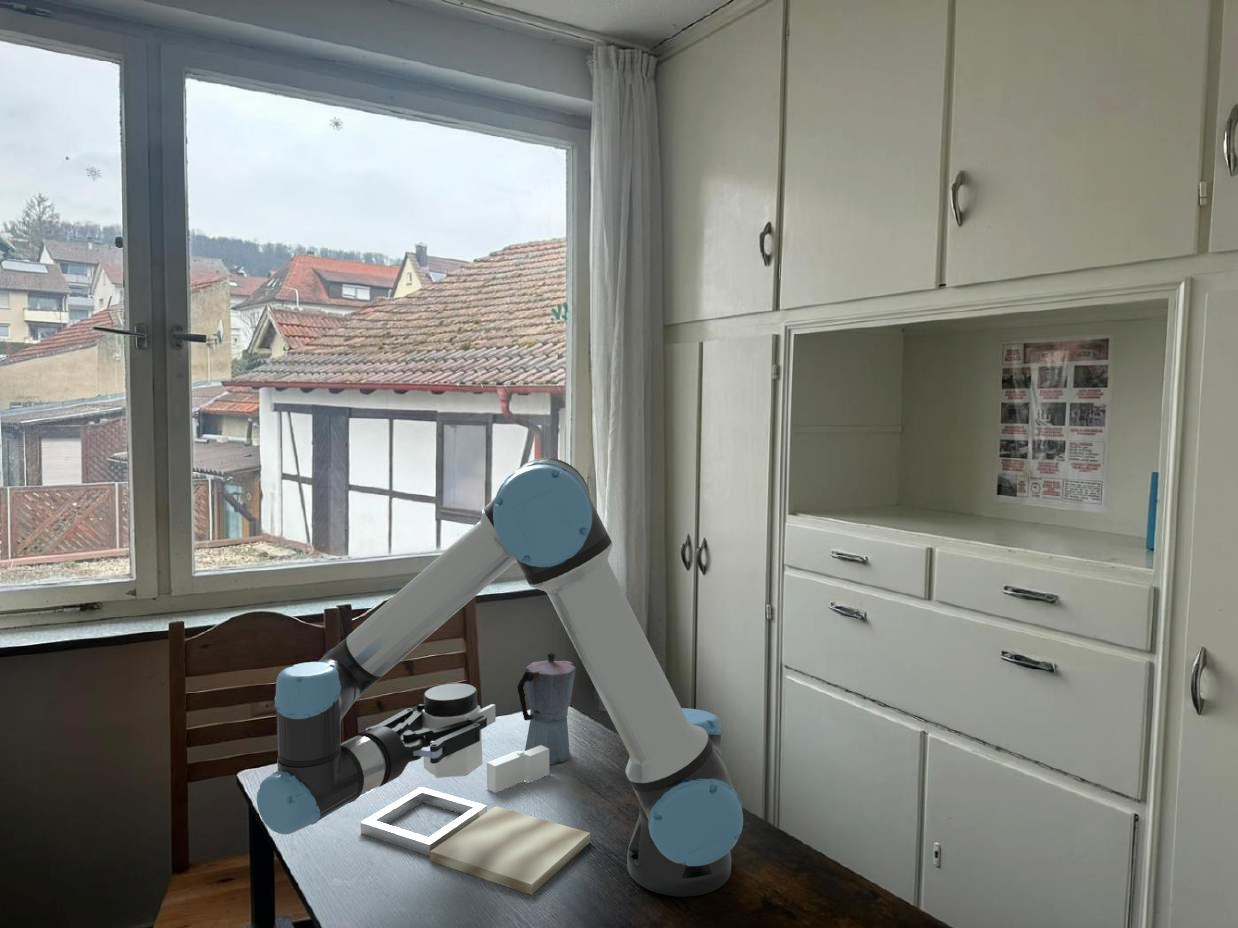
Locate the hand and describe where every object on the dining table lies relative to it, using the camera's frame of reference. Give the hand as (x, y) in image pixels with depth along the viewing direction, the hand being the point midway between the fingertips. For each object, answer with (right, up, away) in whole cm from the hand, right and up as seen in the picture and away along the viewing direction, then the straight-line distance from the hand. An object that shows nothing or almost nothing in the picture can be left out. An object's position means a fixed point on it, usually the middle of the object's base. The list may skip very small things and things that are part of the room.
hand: (474, 708), depth 136 cm
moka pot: (+9, -17, +26) cm, 33 cm away
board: (+7, -19, -7) cm, 22 cm away
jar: (-3, -8, -4) cm, 9 cm away
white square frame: (-8, -19, +1) cm, 20 cm away
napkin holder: (+6, -18, +16) cm, 25 cm away
